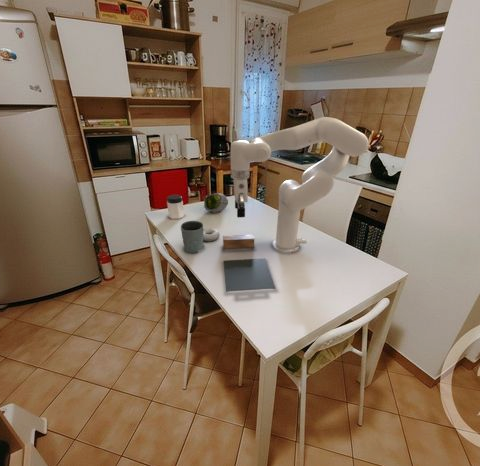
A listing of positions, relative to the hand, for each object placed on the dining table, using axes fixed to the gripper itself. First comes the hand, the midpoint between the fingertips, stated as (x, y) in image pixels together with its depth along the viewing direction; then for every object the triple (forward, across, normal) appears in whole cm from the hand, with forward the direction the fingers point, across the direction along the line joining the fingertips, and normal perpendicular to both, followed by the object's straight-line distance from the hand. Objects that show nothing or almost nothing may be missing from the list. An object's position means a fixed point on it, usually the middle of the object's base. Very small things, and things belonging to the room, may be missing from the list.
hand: (239, 212), depth 114 cm
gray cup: (+18, +2, +21) cm, 28 cm away
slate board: (+18, -21, -1) cm, 28 cm away
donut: (+18, +12, +14) cm, 26 cm away
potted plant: (+18, +45, +10) cm, 50 cm away
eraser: (+18, 0, 0) cm, 18 cm away
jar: (+18, +40, +33) cm, 55 cm away
